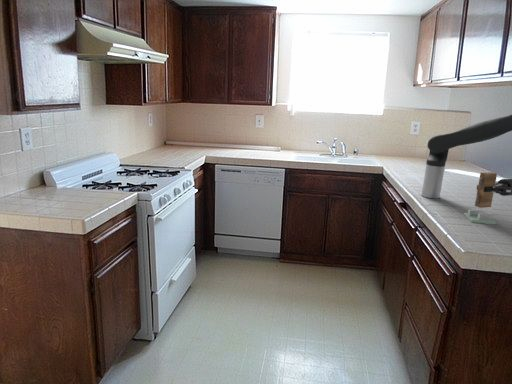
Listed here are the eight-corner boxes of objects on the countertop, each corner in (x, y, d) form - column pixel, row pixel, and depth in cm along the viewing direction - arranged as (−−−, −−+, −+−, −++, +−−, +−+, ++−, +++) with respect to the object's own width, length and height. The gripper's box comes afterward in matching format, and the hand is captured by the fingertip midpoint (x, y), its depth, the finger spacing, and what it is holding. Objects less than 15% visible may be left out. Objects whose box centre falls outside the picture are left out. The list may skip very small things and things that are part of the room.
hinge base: (463, 214, 185) (465, 207, 185) (488, 217, 183) (489, 209, 183) (470, 222, 175) (472, 213, 174) (496, 224, 173) (498, 216, 172)
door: (473, 206, 178) (478, 172, 174) (485, 205, 180) (491, 172, 176) (478, 207, 175) (484, 174, 171) (490, 207, 177) (497, 173, 174)
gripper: (498, 175, 186) (469, 176, 180) (527, 182, 173) (496, 183, 167) (495, 191, 187) (466, 192, 182) (523, 199, 174) (492, 201, 169)
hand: (480, 188), depth 175 cm, fingers closed on door, 3 cm apart
